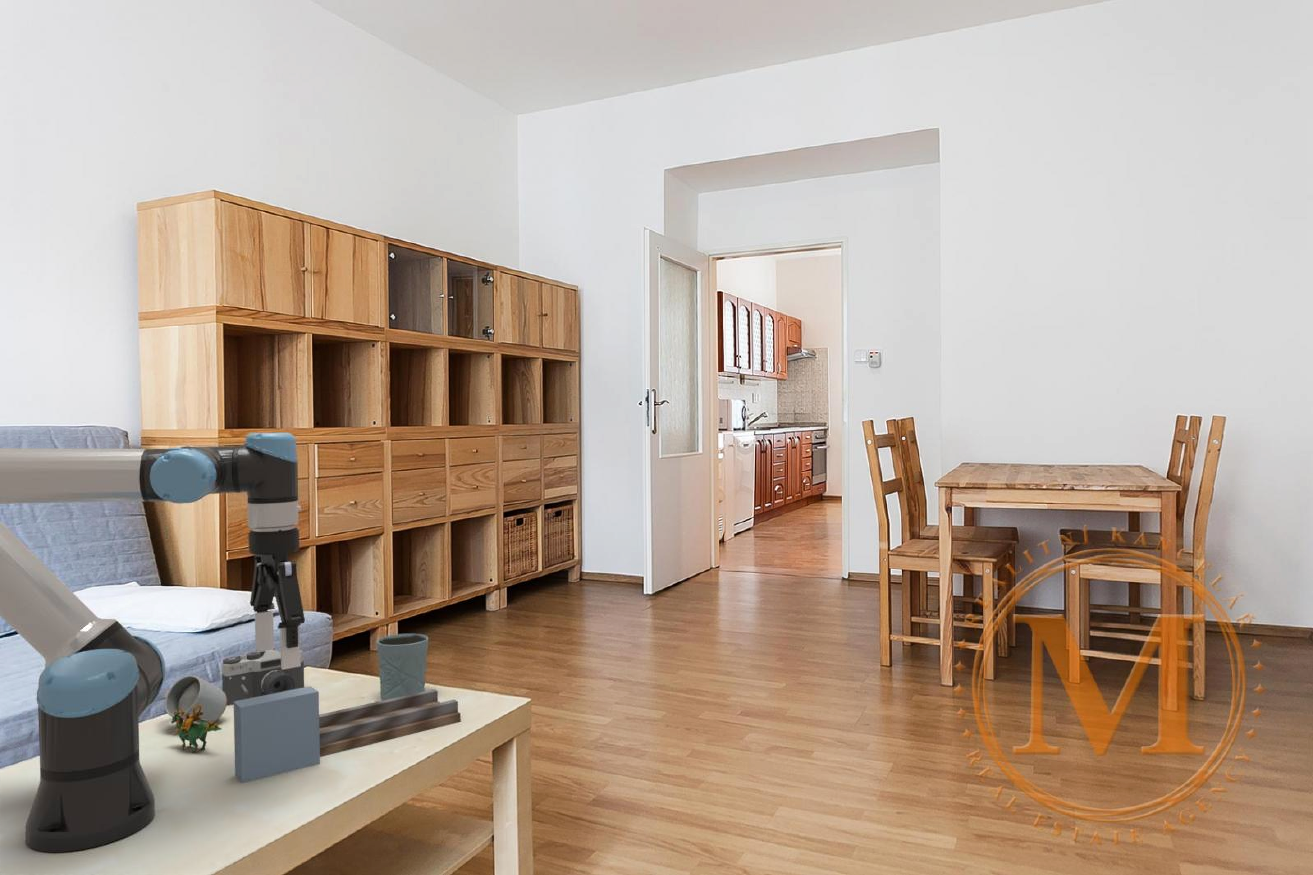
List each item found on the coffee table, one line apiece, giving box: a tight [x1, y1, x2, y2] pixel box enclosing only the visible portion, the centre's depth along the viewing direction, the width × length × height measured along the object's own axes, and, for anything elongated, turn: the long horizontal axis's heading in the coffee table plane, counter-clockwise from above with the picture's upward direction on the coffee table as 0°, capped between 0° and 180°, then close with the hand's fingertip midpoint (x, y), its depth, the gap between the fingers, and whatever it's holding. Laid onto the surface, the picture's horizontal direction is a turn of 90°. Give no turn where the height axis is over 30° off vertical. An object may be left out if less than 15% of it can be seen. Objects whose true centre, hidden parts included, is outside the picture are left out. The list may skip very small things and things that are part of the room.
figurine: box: [170, 705, 223, 754], centre depth 150 cm, size 3×12×8 cm, turn 67°
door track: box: [319, 688, 462, 758], centre depth 160 cm, size 26×12×4 cm, turn 130°
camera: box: [221, 647, 305, 707], centre depth 177 cm, size 16×10×10 cm, turn 132°
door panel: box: [233, 685, 321, 784], centre depth 142 cm, size 12×4×12 cm, turn 130°
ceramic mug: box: [162, 674, 228, 724], centre depth 163 cm, size 11×8×8 cm
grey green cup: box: [375, 633, 429, 701], centre depth 178 cm, size 10×10×12 cm
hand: (277, 659), depth 141 cm, fingers open, 13 cm apart
